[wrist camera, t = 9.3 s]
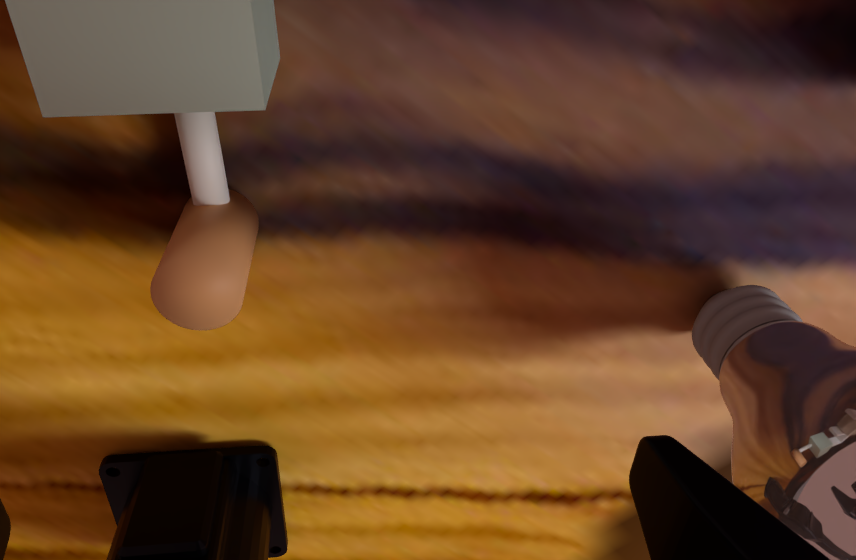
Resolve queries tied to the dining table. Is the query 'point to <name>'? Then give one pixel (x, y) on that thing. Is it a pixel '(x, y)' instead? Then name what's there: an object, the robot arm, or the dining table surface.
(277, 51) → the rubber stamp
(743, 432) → the light bulb
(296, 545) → the dining table surface
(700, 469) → the robot arm
